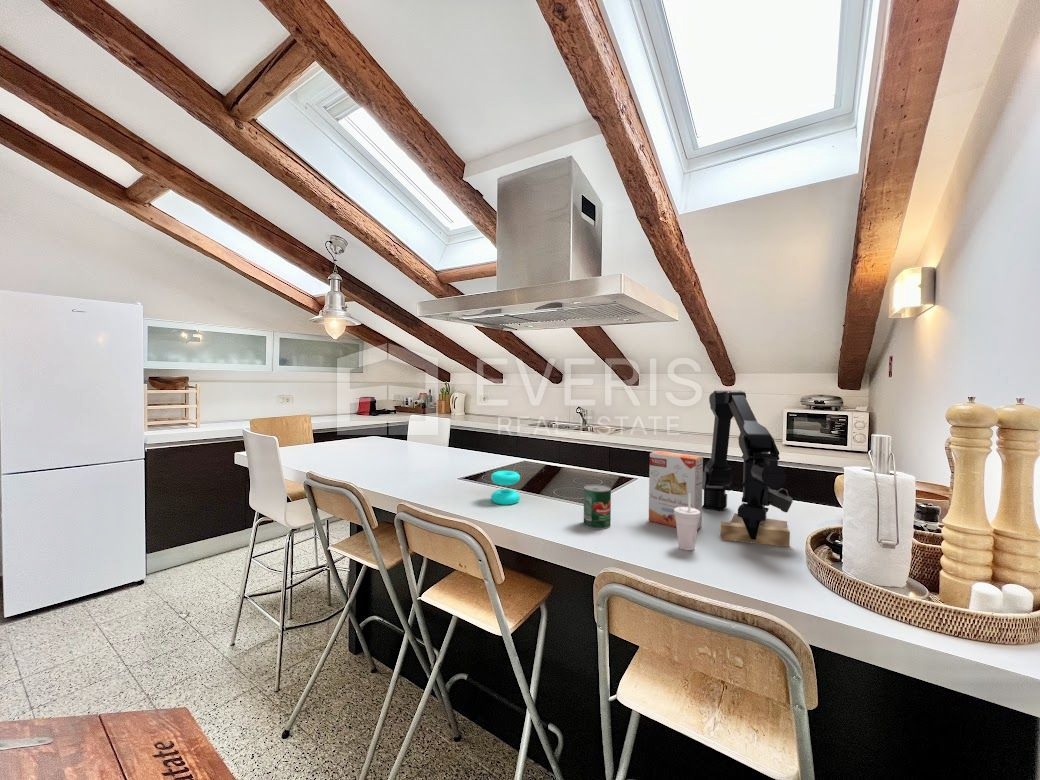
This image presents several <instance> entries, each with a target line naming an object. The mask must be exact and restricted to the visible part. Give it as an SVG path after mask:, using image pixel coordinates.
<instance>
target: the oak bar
mask: <svg viewBox="0 0 1040 780" xmlns="http://www.w3.org/2000/svg"><path fill="white" fill-rule="evenodd" d="M730 522H731V521H730ZM730 522H727V521H720V529H719V530H720V535H719V537H720V539H721V538H722V539H725V540H724V541H731V540H736V541H735V542H740V541H744V542H743V543H750V542H752V543H751V544H759V543H760V544H761V545H769V544H770V546H779V547H790V540H791V538H790V537H791V531H790V530H789V529H788V527H787V528H783V527H772V526H762V525H759V528H758V532H757V536H756V540H753V539H751V538H750V535H749V533H748V531H747V528H746V526H745V524H741V523H730ZM722 539H721V540H722Z"/></svg>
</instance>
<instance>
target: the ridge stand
mask: <svg viewBox="0 0 1040 780" xmlns="http://www.w3.org/2000/svg"><path fill="white" fill-rule="evenodd" d="M763 507H765V508H766V506H763ZM730 523H741V524H744V522H743V520H742V518H741V517H738V513H734V514H733V516H732V518H731V520H730ZM760 525H762V526H772V527H783V528H787V529H788V521H787V520H781V519H780V520H779V519H774V518H768V517H766V521H761V522H760Z"/></svg>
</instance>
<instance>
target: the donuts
mask: <svg viewBox="0 0 1040 780" xmlns="http://www.w3.org/2000/svg"><path fill="white" fill-rule="evenodd" d="M490 478H491V482H493V483H494V484H496V485H499V486H511V485H514V484H516V483H518V482H519V481H520V479H521V475H520V474H519V473H518V472H516V471H513V470H498V471H494V472H493V473H491V476H490ZM520 498H521V496H520V494H519V493H518V492H517V491H516V490H513V489H498V490H495V491H494V492H493V493H491V496H490V499H491V501H492V502H493V503H494V504H497V505H503V506H505V505H507V506H509V505H514V504H516V503H518V502H519V501H520Z"/></svg>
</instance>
